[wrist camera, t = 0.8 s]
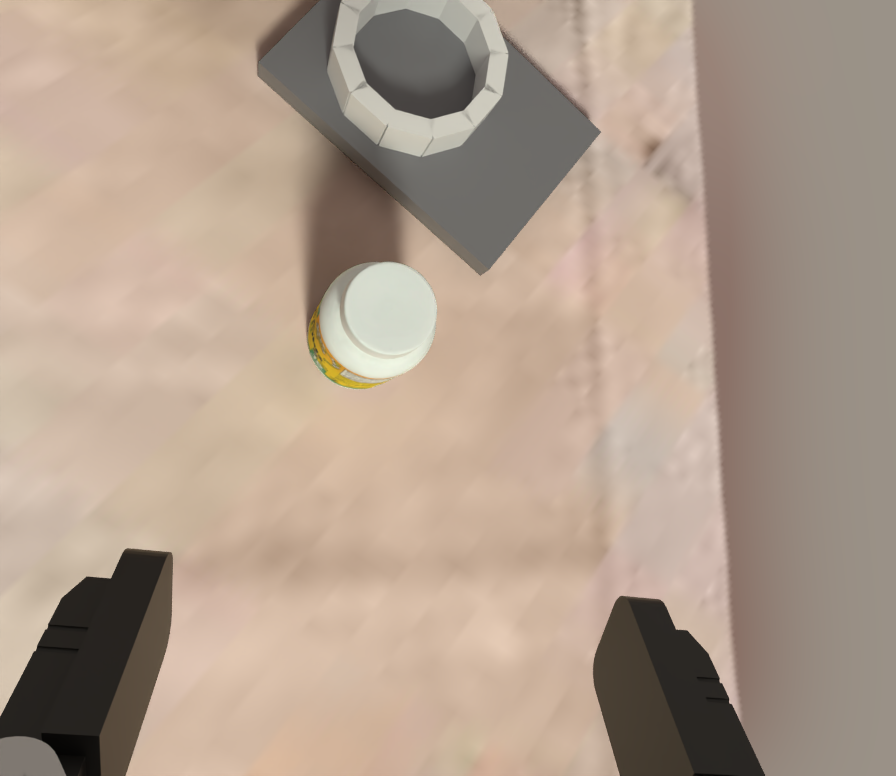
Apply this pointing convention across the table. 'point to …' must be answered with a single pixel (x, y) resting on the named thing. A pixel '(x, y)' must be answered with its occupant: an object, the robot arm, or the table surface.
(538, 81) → the mount plate
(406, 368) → the supplement bottle
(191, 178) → the table surface
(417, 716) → the table surface
